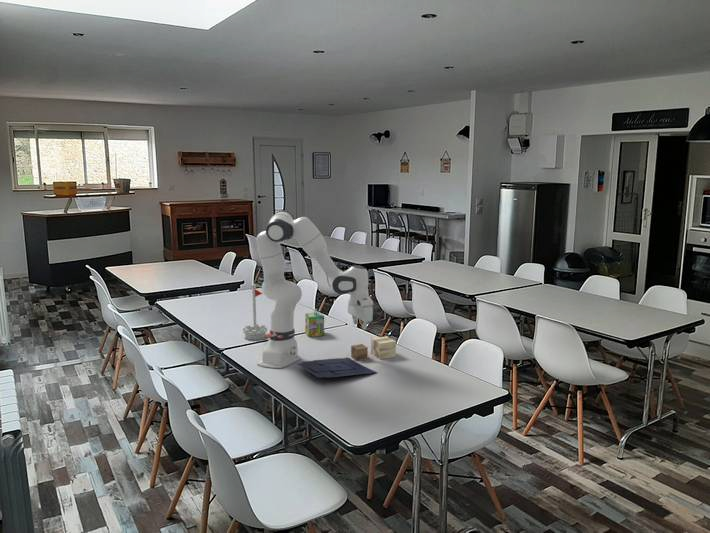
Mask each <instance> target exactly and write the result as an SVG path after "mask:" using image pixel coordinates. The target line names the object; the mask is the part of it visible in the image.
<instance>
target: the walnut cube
mask: <svg viewBox="0 0 710 533" xmlns="http://www.w3.org/2000/svg"><path fill="white" fill-rule="evenodd" d="M368 352H369V351H368V346H366V345H364V344H363V343H360V344H354V345H352V344H351V345H350V358H351V359H352V360H354V361H355V362H357V361H358V362H359V361H362V360H363V361H365V360H368V357H369V356H368Z"/></svg>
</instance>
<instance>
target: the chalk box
mask: <svg viewBox="0 0 710 533" xmlns="http://www.w3.org/2000/svg"><path fill="white" fill-rule="evenodd" d="M304 321H305V324H304V325H305V327H304V329H305V331H304V332H305V334H306V336H307V337H308V338H315V337H317V338H318V337H325V316H324V314H322V312H318V308H314V312H307V313H305V319H304Z"/></svg>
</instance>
